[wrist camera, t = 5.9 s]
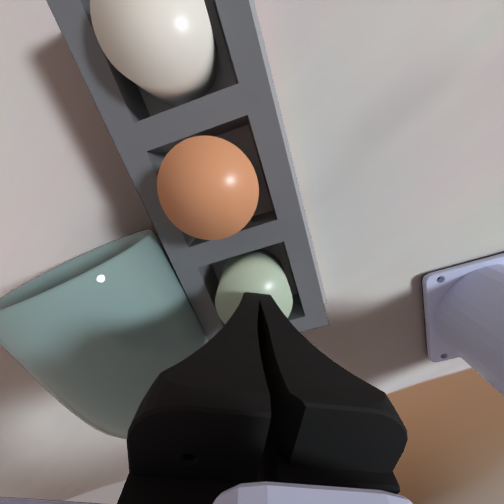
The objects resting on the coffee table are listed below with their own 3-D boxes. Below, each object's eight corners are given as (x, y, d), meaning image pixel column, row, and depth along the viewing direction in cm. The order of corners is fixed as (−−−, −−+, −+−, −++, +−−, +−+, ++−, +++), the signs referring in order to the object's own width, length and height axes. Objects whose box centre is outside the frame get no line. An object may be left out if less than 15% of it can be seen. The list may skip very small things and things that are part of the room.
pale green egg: (275, 239, 14) (281, 258, 11) (291, 295, 15) (300, 324, 13) (212, 258, 14) (203, 281, 12) (233, 311, 16) (230, 342, 13)
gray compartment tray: (235, -62, 11) (229, -159, 7) (323, 297, 17) (340, 327, 14) (73, 10, 12) (5, -49, 8) (215, 326, 18) (208, 361, 15)
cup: (86, 490, 12) (-85, 346, 8) (139, 367, 19) (59, 262, 16) (229, 436, 12) (116, 264, 8) (227, 332, 19) (167, 218, 15)
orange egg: (242, 131, 11) (239, 119, 8) (266, 210, 13) (271, 223, 10) (165, 158, 12) (138, 156, 9) (196, 232, 13) (181, 251, 10)
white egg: (198, -16, 10) (178, -85, 7) (230, 89, 11) (223, 65, 9) (115, 21, 11) (65, -32, 8) (155, 118, 12) (125, 103, 9)
